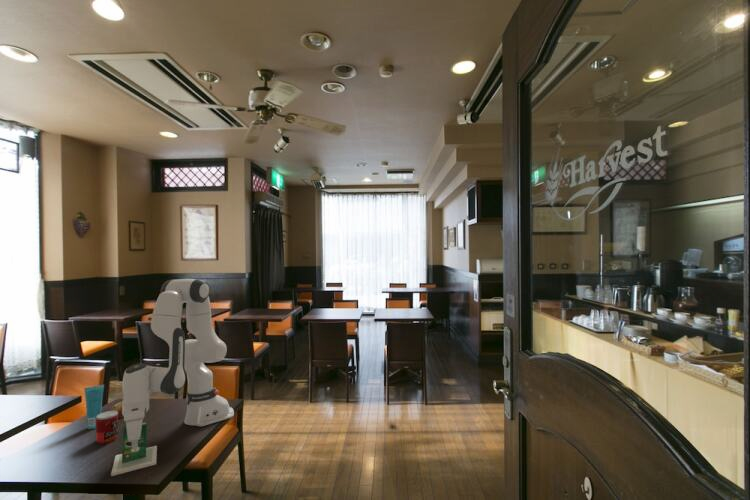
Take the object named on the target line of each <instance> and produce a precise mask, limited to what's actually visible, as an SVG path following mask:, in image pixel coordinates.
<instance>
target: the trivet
mask: <svg viewBox="0 0 750 500" xmlns="http://www.w3.org/2000/svg"><path fill="white" fill-rule="evenodd" d="M157 451H158V446H157V445H153V446H147V447H146V457H143V458H138V459H134V460H131V461H127V462H122V453H120V454H116V455H115V457H114V460H113V465H112V469H111V472H110V476H111V477H114V476H117V475H122V474H125V473H129V472H132V471H136V470H140V469H144V468H148V467H152V466H156V465H157V459H158V458H157V456H158V454H157V453H158V452H157Z"/></svg>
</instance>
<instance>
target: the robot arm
mask: <svg viewBox="0 0 750 500" xmlns="http://www.w3.org/2000/svg"><path fill="white" fill-rule="evenodd" d="M210 289H211V288H210V285H209V283H208V282H207V281H206V280H204V279H200V278H198V279H197V278H196V279H195V278H179V279H175V278H174V279H168V280H166V281H165V282H164V283H163V284H162V285H161V288H160V293H159V295H158V297H157V299H156V302H155V304H154V308H153V311H152V315H151V320H150V329H151V331H152V333H153V334H154V335H155V336H157V337H158V338H161V339H162V340H163V341H165V342H166V343H167V345H168V348H169V355H168V367H163V366H152V365H148V364H146V363H144V362H141V363H136V364H132V365H131V366H129V367H127V368H126V369H125V370H124V373H123V377H122V387H121V389H122V391H121V392H122V395H123V396H122V401H121V402H122V415H123V416H124V417H123V421H124V422H125V426H126V428H127V438H128V441H129V442H132V449H136V448H137V447H138V440H139V439H140V436H141V429H142V422H143V420H144V418H145V417H146V414H147V412H148V411H149V410H150V393H152V392H155V393H163V394H166V395H174V394H176V393H177V392H179V391H180V390H181V389H182V388H183V387H184V385H185V383H186V379H187V392H186V405H187V406H186V412H185V413H186V414H185V418H184V420H183V423H184V424H185V425H188V426H196V427H204V426H207V425H208V426H209V425H211V424H214V423H218V422H221V421H224V420H228V419H230V418H233V417H234V415H235V411H234V409H233V407H231V406H230V404H229V402H228V400H227V399H226V398H225V397H222V396H221V395H219V394H220V391H219V390H218V389H217V388H216V387H215V386H214V385H213V383H214V379H213V378H214V374H213V372H212V370H211V369H209V368H208V367H207V366H206V365H205V363H210V364H211V363H212V364H213V363H216V362H221V361H223V359H224V358H225V357H226V355H227V351H228V348H227V347H228V346H227V344H226V343H225V342H224V341H223V340H221V338H219V336H218V335H217V333H216V332H215V329H214V326H213V320H212V308H211V307H212V306H211V301H210V297H209V296H210ZM184 303H186V306H185V317H186V318H185V319H186V330H187V331H188V332H189V333H190V334H192V335H193V337H195V339H194V338H191V339H186V336H185V331H184V330H183V328H182V322H181V321H182V315H183V314H182V313H183V305H184ZM213 386H214V387H213Z"/></svg>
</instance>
